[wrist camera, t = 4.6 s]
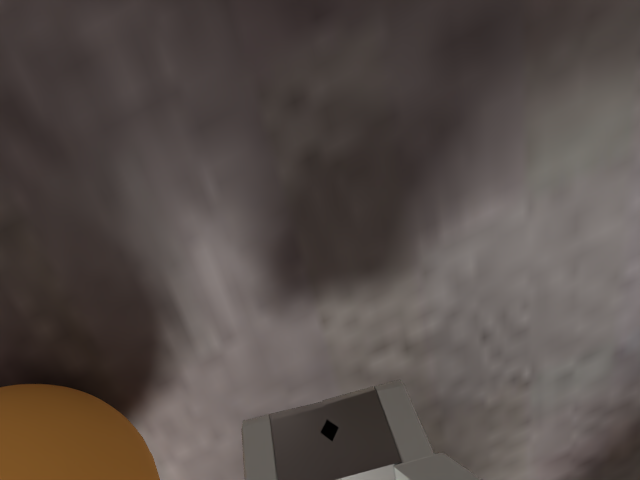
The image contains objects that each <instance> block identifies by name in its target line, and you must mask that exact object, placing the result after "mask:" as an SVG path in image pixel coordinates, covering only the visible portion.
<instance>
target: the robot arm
mask: <svg viewBox="0 0 640 480" xmlns="http://www.w3.org/2000/svg"><path fill="white" fill-rule="evenodd" d="M242 445H243V461H244V477H245V480H482V479H480V478H479V477H478V476H476V475H475V474H473V473H472V472H470V471H469V470H468V469H466V468H465V467H463V466H462V465H460V464H459V463H458V462H456V461H455V460H453V459H452V458H450V457H449V456H447V455H446V454H445V453H443V452H441V453H437V454H434V452H433V450H432V447H431V445H430V443H429V440H428V438H427V436H426V434H425V431H424V429H423V427H422V424H421V422H420V420H419V418H418V415H417V413H416V411H415V408H414V406H413V404H412V402H411V399H410V397H409V395H408V392H407V390H406V388H405V386H404V383H403V382H402V381H401V380H397V381H393V382H389V383H385V384H382V385H378V386H374V387H373V386H372V387H369V388H365V389H362V390H358V391H355V392H351V393H347V394H344V395H340V396H337V397H333V398H329V399H326V400H322V402H318V403H314V404H309V405H305V406H301V407H297V408H293V409H288V410H284V411H280V412H276V413H272V414H268V415H264V416H260V417H256V418H252V419H248V420H244V421H243V424H242Z"/></svg>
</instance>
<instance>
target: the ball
mask: <svg viewBox="0 0 640 480" xmlns="http://www.w3.org/2000/svg"><path fill="white" fill-rule="evenodd" d="M0 480H160V478H159V475H158V472H157V468H156V465H155V462H154V459H153V456H152V454H151V452H150V451H149V449H148V447H147V445H146V443H145V441H144V439H143V437H142V436H141V435H140V434H139V432H138V431H137V430H136V428H135V427H134V426H133V425H132V424H131V422H130V421H129V420H128V419H127V418H126V417H125V416H124V415H122V414H121V413H120V412H119V411H117V410H116V409H115V408H113V407H112V406H110V405H109V404H107V403H106V402H104V401H102V400H101V399H99V398H97V397H95V396H93V395H90V394H88V393H85V392H83V391H79V390H76V389H73V388H68V387H64V386H58V385H50V384H18V385H11V386H4V387H0Z"/></svg>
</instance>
